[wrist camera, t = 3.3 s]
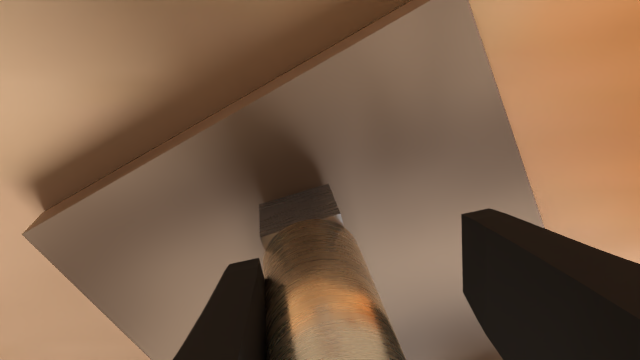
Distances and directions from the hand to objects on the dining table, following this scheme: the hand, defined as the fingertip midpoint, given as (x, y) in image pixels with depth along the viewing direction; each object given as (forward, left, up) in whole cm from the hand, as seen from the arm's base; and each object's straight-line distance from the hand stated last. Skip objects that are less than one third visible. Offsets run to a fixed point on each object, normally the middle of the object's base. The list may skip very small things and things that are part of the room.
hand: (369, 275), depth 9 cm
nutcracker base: (+3, +5, -4) cm, 7 cm away
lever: (+5, +5, -3) cm, 7 cm away
